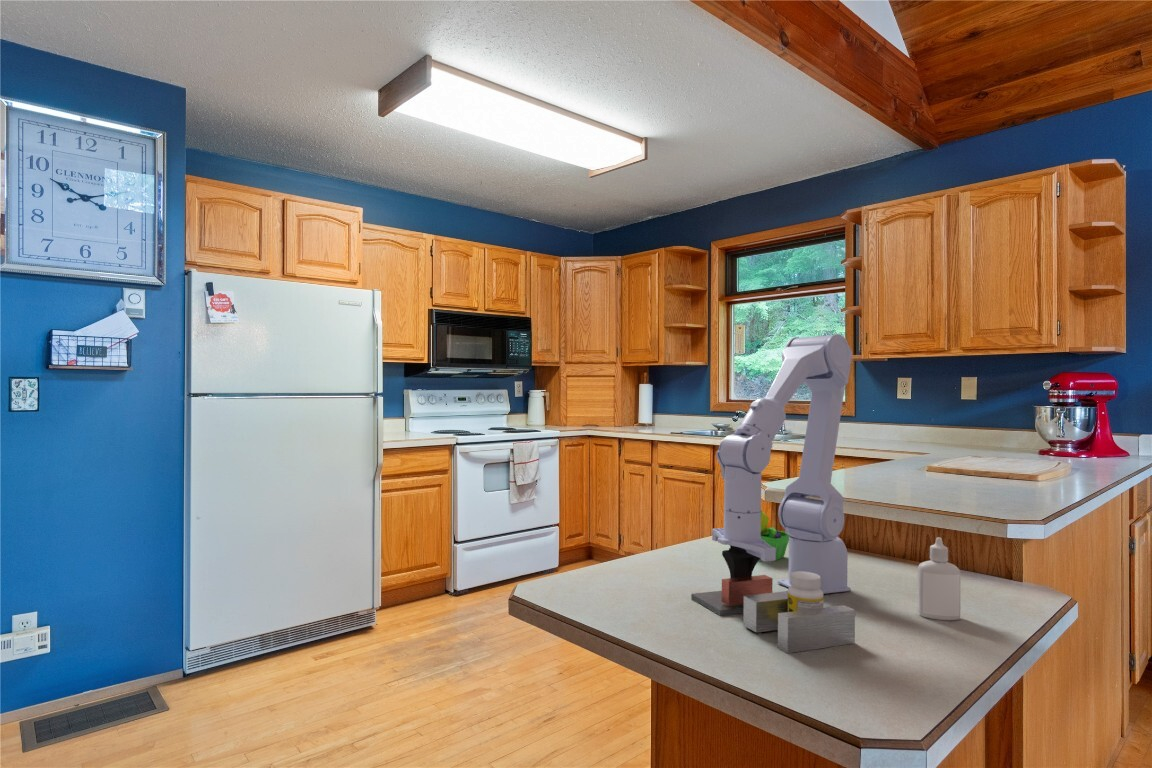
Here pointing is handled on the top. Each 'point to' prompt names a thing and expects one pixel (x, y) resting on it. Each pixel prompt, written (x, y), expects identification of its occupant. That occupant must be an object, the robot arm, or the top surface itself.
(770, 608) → the sliding jaw
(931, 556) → the eye dropper bottle
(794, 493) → the robot arm
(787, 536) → the fruit basket
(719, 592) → the base
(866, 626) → the top surface
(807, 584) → the supplement bottle
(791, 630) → the bar
